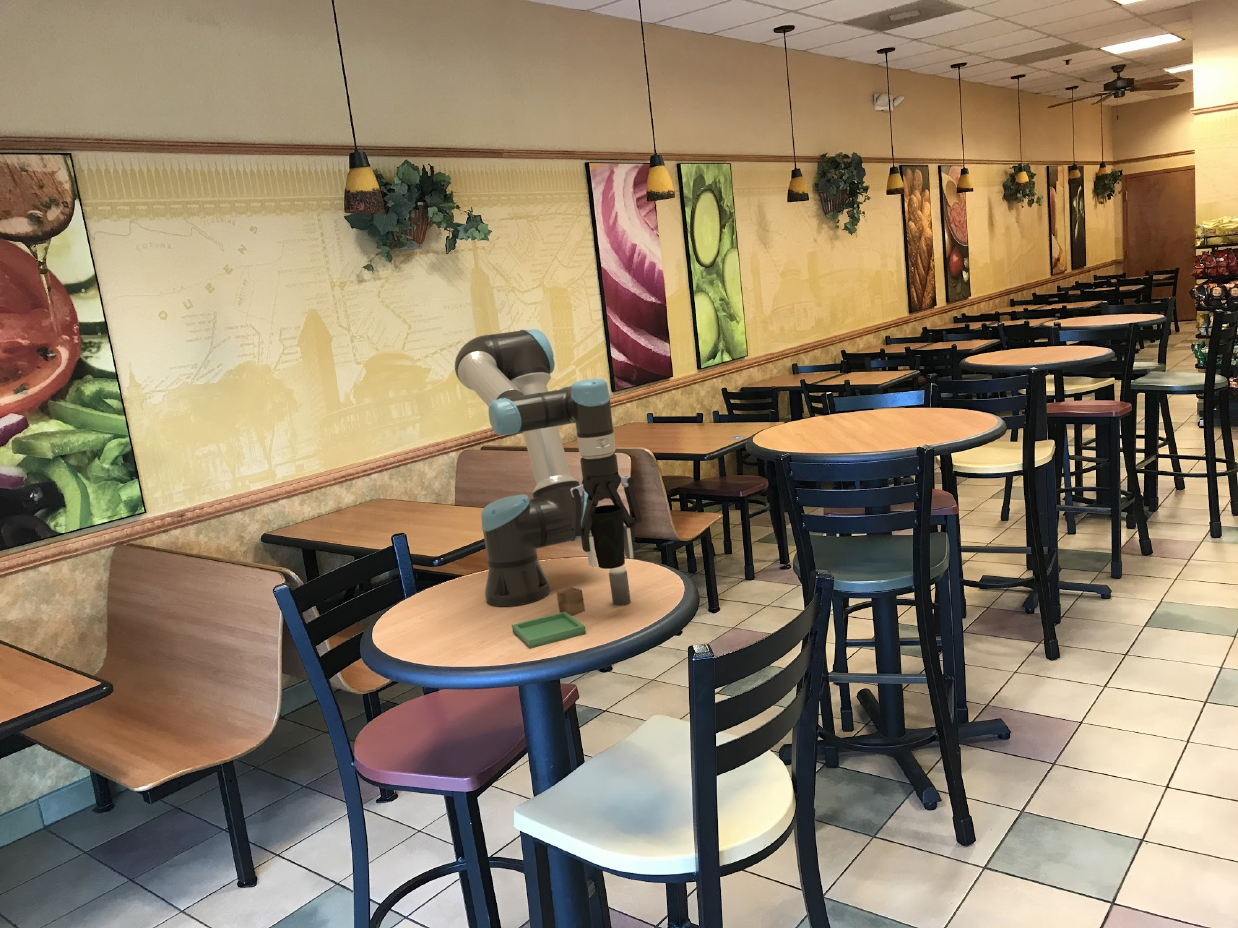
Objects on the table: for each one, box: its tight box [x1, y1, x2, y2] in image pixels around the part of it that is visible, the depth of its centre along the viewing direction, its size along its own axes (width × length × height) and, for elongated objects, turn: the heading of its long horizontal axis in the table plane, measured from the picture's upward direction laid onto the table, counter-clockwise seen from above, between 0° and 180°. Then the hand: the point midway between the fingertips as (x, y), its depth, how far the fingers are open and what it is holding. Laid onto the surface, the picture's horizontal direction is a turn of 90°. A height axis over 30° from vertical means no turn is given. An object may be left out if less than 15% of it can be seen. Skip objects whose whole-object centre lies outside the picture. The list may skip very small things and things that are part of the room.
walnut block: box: [556, 586, 586, 617], centre depth 204 cm, size 4×4×5 cm
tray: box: [511, 612, 587, 649], centre depth 193 cm, size 12×12×2 cm
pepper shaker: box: [608, 566, 632, 607], centre depth 206 cm, size 4×4×8 cm
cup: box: [590, 504, 626, 570], centre depth 195 cm, size 8×8×12 cm
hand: (611, 561), depth 196 cm, fingers closed on cup, 8 cm apart
